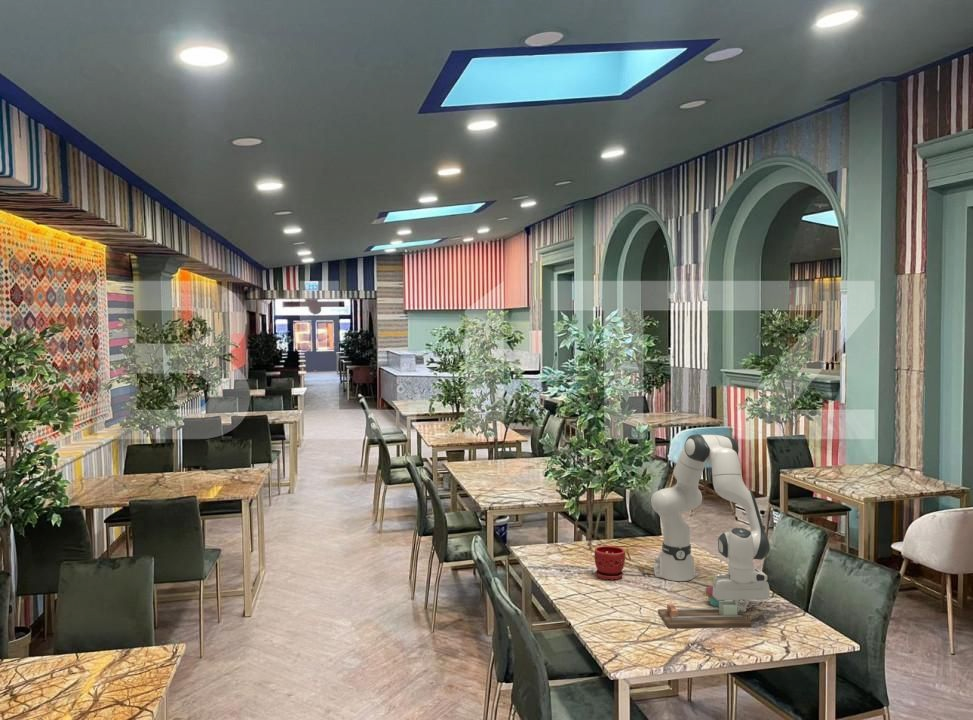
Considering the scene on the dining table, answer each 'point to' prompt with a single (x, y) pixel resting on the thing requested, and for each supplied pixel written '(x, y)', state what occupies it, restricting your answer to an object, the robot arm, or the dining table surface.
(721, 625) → the guide board
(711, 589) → the cupcake
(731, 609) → the block
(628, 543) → the dining table surface
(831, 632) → the dining table surface
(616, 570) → the plant pot
